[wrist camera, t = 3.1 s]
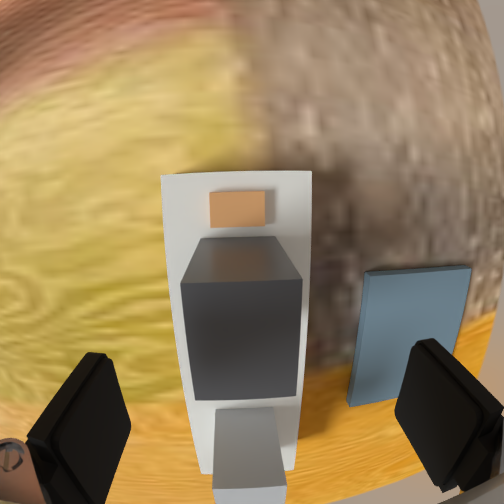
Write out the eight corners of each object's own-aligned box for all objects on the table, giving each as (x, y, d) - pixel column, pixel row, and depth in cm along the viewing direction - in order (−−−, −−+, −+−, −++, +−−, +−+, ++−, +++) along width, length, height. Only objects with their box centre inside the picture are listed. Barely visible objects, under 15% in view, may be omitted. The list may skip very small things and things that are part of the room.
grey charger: (216, 396, 21) (212, 489, 13) (270, 394, 21) (287, 485, 13) (221, 439, 22) (220, 522, 14) (269, 437, 23) (282, 519, 15)
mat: (364, 271, 22) (370, 276, 21) (464, 264, 22) (471, 268, 21) (346, 400, 25) (349, 407, 24) (436, 380, 25) (441, 385, 24)
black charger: (203, 233, 18) (180, 283, 10) (272, 231, 18) (302, 278, 10) (208, 312, 19) (195, 400, 11) (272, 310, 20) (296, 396, 12)
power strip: (173, 174, 19) (158, 175, 15) (298, 170, 20) (314, 171, 16) (203, 446, 25) (201, 479, 21) (288, 442, 26) (294, 474, 22)
